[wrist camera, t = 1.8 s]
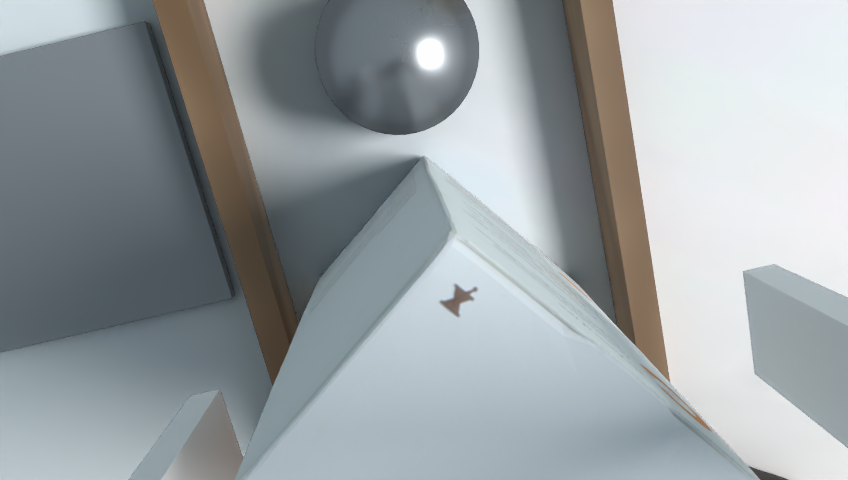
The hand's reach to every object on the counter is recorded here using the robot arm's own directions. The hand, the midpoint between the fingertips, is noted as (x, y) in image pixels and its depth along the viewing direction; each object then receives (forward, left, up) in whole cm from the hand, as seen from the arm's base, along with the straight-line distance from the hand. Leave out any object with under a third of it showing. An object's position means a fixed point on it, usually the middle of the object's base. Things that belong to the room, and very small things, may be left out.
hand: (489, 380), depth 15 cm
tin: (0, +8, -9) cm, 12 cm away
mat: (-13, +6, -9) cm, 17 cm away
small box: (0, 0, -9) cm, 9 cm away
